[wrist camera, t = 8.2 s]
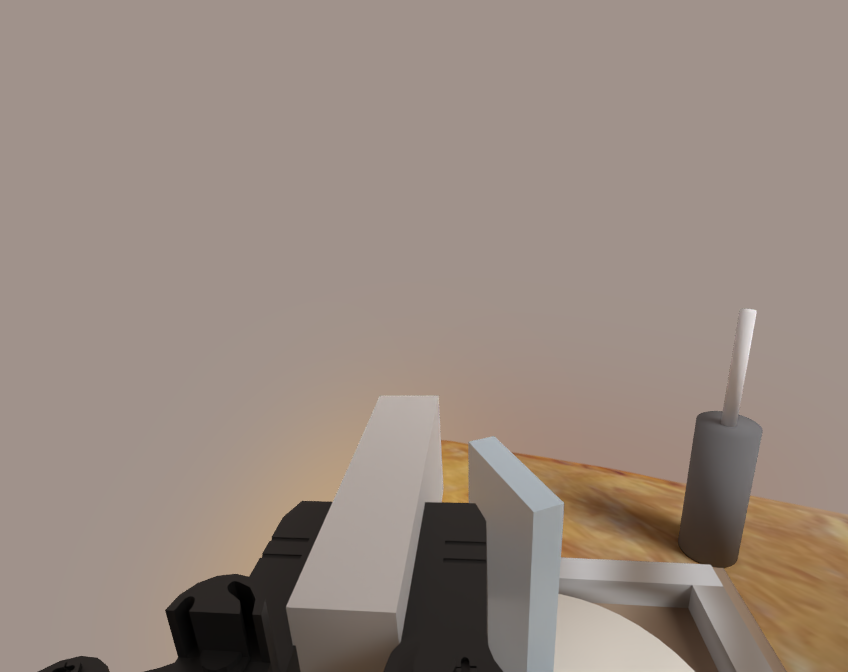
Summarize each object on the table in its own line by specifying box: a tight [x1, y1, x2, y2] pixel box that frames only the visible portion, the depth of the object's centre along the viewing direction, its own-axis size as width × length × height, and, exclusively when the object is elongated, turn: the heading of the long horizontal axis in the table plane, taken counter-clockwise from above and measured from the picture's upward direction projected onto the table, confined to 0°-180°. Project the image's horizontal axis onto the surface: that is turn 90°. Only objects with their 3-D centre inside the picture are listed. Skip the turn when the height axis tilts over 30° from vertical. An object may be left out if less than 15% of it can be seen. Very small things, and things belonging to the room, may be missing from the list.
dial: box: [469, 436, 695, 672], centre depth 18 cm, size 14×14×11 cm
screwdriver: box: [678, 309, 762, 568], centre depth 31 cm, size 3×3×16 cm
